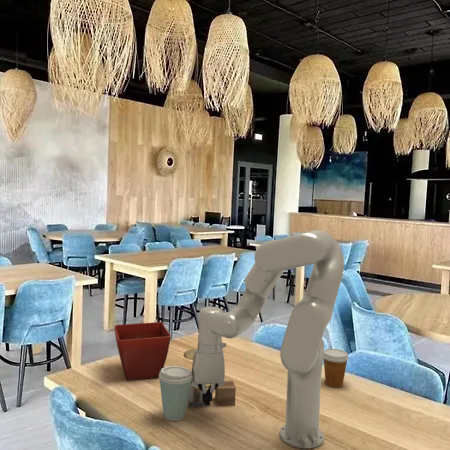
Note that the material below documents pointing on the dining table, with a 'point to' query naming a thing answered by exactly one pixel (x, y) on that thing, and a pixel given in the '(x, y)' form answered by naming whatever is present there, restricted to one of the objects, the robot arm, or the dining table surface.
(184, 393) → the disposable coffee cup
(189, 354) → the balance
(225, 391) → the walnut block
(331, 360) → the disposable coffee cup
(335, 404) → the dining table surface
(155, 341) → the plant pot
